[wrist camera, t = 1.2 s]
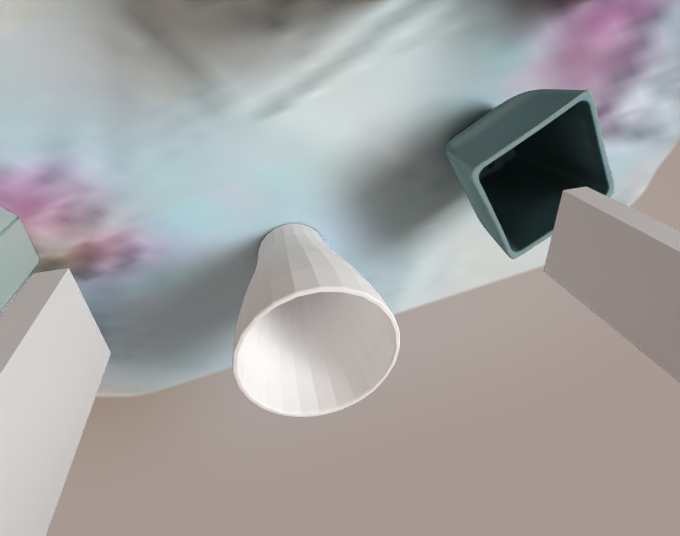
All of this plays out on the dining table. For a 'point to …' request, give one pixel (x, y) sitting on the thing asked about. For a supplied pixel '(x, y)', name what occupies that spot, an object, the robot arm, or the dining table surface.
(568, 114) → the flower pot
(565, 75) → the dining table surface
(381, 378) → the cup
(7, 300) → the bowl
